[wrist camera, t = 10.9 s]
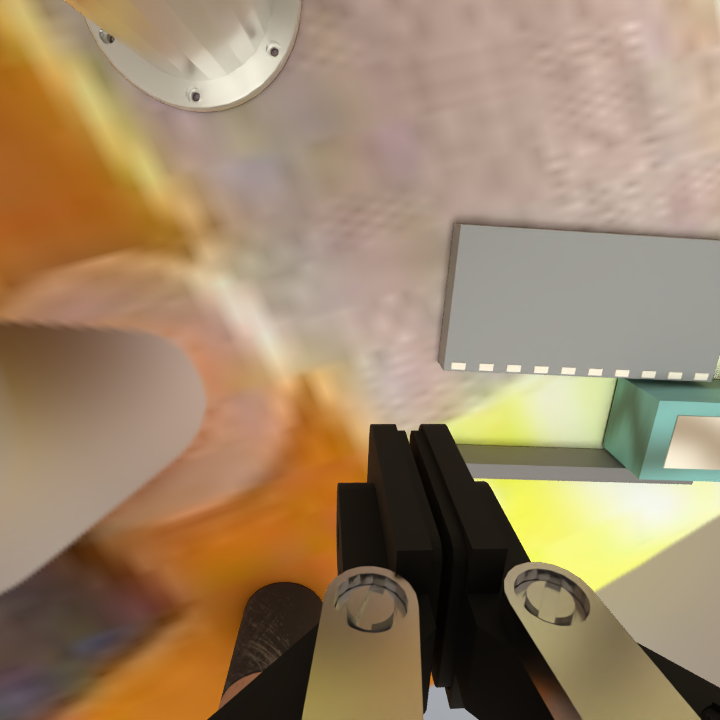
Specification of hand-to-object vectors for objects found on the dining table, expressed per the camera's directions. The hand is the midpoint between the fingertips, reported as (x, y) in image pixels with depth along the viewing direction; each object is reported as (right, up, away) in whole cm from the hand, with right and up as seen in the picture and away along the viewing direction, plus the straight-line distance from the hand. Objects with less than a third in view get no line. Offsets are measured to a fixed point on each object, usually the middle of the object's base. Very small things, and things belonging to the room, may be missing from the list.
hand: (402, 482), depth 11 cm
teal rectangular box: (+24, -1, +28) cm, 37 cm away
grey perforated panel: (+15, +3, +26) cm, 30 cm away
